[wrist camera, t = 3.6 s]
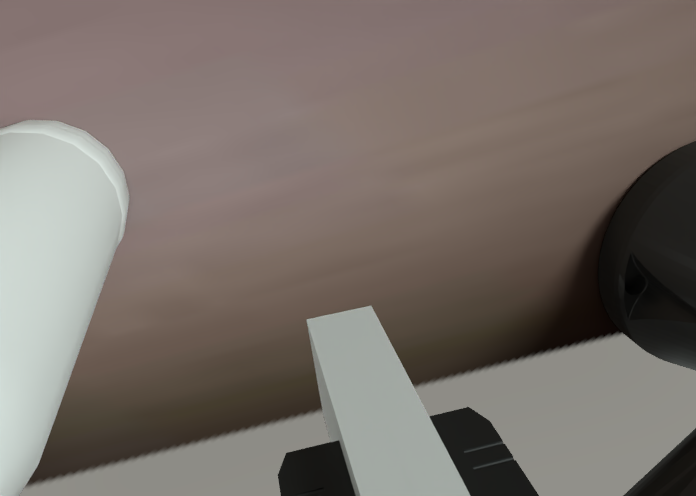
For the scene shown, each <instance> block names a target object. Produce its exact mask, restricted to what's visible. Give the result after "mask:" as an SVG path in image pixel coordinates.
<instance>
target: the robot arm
mask: <svg viewBox="0 0 696 496" xmlns="http://www.w3.org/2000/svg"><path fill="white" fill-rule="evenodd" d="M598 280H599V289H600V294H601V299H602V302H603V305H604V307H605V309H606V312H607V313H608V315H609V317H610V319H611V320H612V321H613V323H614V324H615V325H616V326H617V328H618V329H619V330H620V331H621V332H623V333H624V334H625V335H626V336H627V337H629V338H630V339H631V340H632V341H634V342H635V343H636V344H637V345H639V346H640V347H641V348H642V349H644V350H645V351H647V352H648V353H650V354H652V355H654V356H656V357H658V358H660V359H662V360H664V361H668V362H671V363H674V364H677V365H680V366H683V367H686V368H690V369H693V370H696V141H695V142H693V143H690V144H688V145H686V146H684V147H682V148H680V149H678V150H676V151H674V152H673V153H671V154H669V155H668V156H666V157H665V158H664V159H662V160H661V161H659V162H658V163H657V164H656V165H654V166H653V167H652V168H651V169H650V170H649V171H647V172H646V173H645V174H644V175H643V176H642V177H641V178H640V179H639V180H638V182H637V183H636V184H635V185H634V186H633V187H632V189H631V190H630V191H629V192H628V194H627V195H626V196H625V198H624V199H623V201H622V202H621V204H620V205H619V207H618V209H617V210H616V212H615V214H614V216H613V218H612V220H611V222H610V224H609V226H608V229H607V232H606V234H605V237H604V240H603V244H602V248H601V252H600V258H599V267H598ZM307 325H308V331H309V336H310V342H311V348H312V353H313V359H314V365H315V370H316V376H317V382H318V387H319V393H320V399H321V404H322V410H323V415H324V420H325V424H326V427H327V431H328V434H329V438H330V443H326V444H322V445H317V446H314V447H309V448H305V449H301V450H297V451H293V452H289V453H286V455H285V458H284V461H283V463H282V466H281V469H280V471H279V474H278V479H279V485H280V492H281V496H539V495H538V494H537V492H536V491H535V489H534V488H533V486H532V485H531V483H530V482H529V480H528V478H527V477H526V475H525V474H524V472H523V471H522V469H521V468H520V466H519V465H518V463H517V462H516V461H514V459H513V456H512V454H511V453H510V451H509V450H508V448H507V447H506V445H505V444H503V441H502V439H501V438H500V436H499V434H498V433H497V431H496V430H495V428H494V427H493V426H492V424H491V422H490V421H489V420H487V419H486V418H484V417H483V416H481V415H480V414H478V413H477V412H475V411H474V410H472V409H471V408H469V407H467V408H463V409H459V410H454V411H451V412H446V413H442V414H438V415H434V416H430V417H429V415H428V414H427V412H426V410H425V408H424V406H423V404H422V402H421V400H420V398H419V397H418V394H417V393H416V390H415V389H414V387H413V385H412V383H411V381H410V379H409V377H408V375H407V373H406V371H405V369H404V368H403V366H402V364H401V362H400V360H399V358H398V356H397V354H396V352H395V350H394V348H393V347H392V345H391V343H390V341H389V339H388V337H387V335H386V333H385V331H384V329H383V327H382V326H381V324H380V322H379V320H378V318H377V316H376V314H375V312H374V310H373V308H372V306H368V307H363V308H358V309H354V310H349V311H344V312H340V313H335V314H330V315H326V316H321V317H316V318H312V319H307ZM624 496H696V429H695V430H693V431H692V432H691V433H690V434H689V435H688V436H687V437H686V438H685V439H684V440H683V441H682V442H681V443H679V445H677V446H676V447H675V448H674V449H673V450H672V451H671V452H670V453H669V454H668V455H667V456H666V457H664V458H663V459H662V460H661V461H660V462H659V463H658V464H657V465H656V466H655V467H654V468H653V469H652V470H650V471H649V472H648V473H647V474H646V475H645V476H644V477H643V478H642V479H641V480H640V481H639V482H638V483H636V484H635V485H634V486H633V487H632V488H631V489H630V490H629V491H628V492H627V493H626V494H625V495H624Z"/></svg>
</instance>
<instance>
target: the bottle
mask: <svg viewBox="0 0 696 496" xmlns="http://www.w3.org/2000/svg"><path fill="white" fill-rule="evenodd" d="M129 198H130V196H129V192H128V188H127V184H126V179H125V175H124V172H123V170H122V169H121V167H120V166H119V164H118V162H117V161H116V159H115V158H114V156H113V155H112V153H111V152H110V150H109V149H108V148H107V147H105V146H104V145H103V144H101V143H100V142H99V141H98V140H96V139H95V138H94V137H92V136H91V135H90V134H89V133H87V132H86V131H84V130H81V129H78V128H76V127H73V126H70V125H67V124H65V123H62V122H59V121H48V120H25V121H22V122H19V123H16V124H12V125H9V126H6V127H3V128H0V496H19V495H20V494H21V492H22V490H23V489H24V487H25V486H26V484H27V482H28V481H29V479H30V477H31V476H32V474H33V472H34V471H35V469H36V468H37V466H38V464H39V462H40V459H41V456H42V453H43V451H44V448H45V445H46V442H47V439H48V437H49V434H50V431H51V428H52V426H53V423H54V420H55V417H56V414H57V412H58V409H59V406H60V403H61V401H62V398H63V395H64V392H65V389H66V387H67V384H68V381H69V378H70V376H71V373H72V370H73V367H74V364H75V362H76V359H77V356H78V353H79V350H80V348H81V345H82V342H83V339H84V337H85V334H86V331H87V328H88V325H89V323H90V320H91V317H92V314H93V312H94V309H95V306H96V303H97V300H98V298H99V295H100V292H101V289H102V287H103V284H104V281H105V278H106V275H107V273H108V270H109V267H110V264H111V262H112V259H113V256H114V253H115V250H116V248H117V246H118V245H119V243H120V241H121V239H122V237H123V235H124V231H125V224H126V218H127V211H128V205H129Z"/></svg>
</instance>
